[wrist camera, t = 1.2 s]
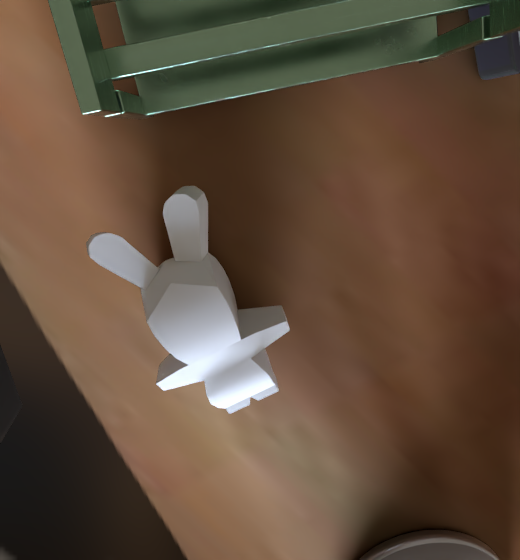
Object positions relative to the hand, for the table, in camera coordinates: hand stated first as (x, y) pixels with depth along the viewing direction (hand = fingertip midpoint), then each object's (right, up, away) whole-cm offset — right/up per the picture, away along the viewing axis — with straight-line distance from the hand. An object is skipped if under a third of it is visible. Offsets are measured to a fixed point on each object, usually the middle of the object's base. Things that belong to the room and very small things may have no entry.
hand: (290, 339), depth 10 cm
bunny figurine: (-5, 0, +21) cm, 22 cm away
